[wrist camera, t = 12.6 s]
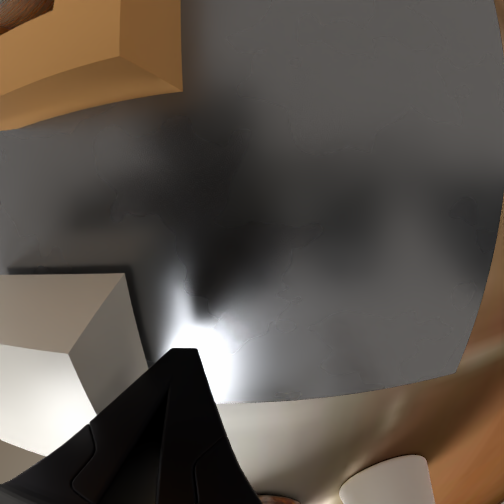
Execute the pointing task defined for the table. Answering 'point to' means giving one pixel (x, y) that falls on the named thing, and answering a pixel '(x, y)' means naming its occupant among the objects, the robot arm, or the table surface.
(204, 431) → the robot arm
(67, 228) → the base plate
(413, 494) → the cosmetic bottle
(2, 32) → the orange hollow square block
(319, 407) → the table surface
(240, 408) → the table surface
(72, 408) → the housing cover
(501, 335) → the table surface
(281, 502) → the sauce bottle
